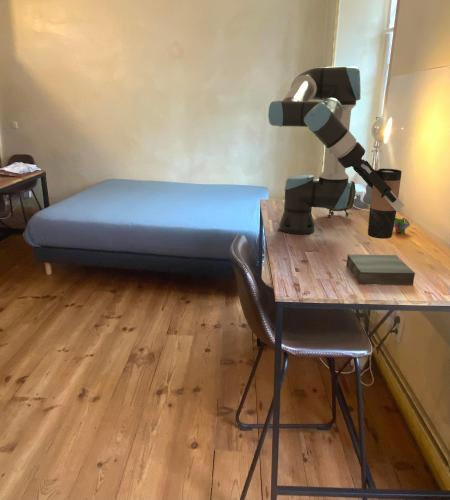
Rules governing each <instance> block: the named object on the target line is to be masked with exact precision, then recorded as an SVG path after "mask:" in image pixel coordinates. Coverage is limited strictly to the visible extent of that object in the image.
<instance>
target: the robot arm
mask: <svg viewBox="0 0 450 500" xmlns="http://www.w3.org/2000/svg"><path fill="white" fill-rule="evenodd" d="M361 99H362V98H361V72H360V69H359V68H358V67H357V66H347V65H346V66H326V67H323V66H321V67H320V66H317V67H314V68H310V69H307V70H305V71H304V72H301V73H300V74H298V75H297V76H296V77H295V78H294V79H293V81H292V82H291V85H290V89H289V91H288V92H287V94H286V95H285V97H284V98H283V99H282V100H273V101H271V102H270V104H269V105H268V115H267V117H268V122H269V125H271V126H272V127H273V126H276V127H292V128H293V127H294V128H295V127H301V128H302V127H305V128H308V130H310V132H312V133H313V134H314V135H315V137H316V138H317V139H318V140H319V141H320V142H321V143H322V144H323V145H324V146H325V147H324V160H323V171H322V172H321V173H320V174H319V177H318V178H315V176H314V174H300V175H293V176H290V177H288V178H287V179H286V180H285V186H284V205H283V213H282V216H281V218H280V221H279V224H278V229H279V230H280V231H281V232H283V233H286V234H291V235H292V234H293V235H306V234H307V235H308V234H311V233H312V234H313V232H315V221H314V218H313V215H312V209H313V208H321V209H326V208H331V209H344V208H345V207H346V205H347V201H348V196H349V192H350V188H351V184H352V182H351V181H352V180H349V178H350V177H349V175H348V174H347V172H346V170H347V169H349V168H351V167H352V169H353V170H354V172H355V173H357V174H358V176H360V177H361V179H362V180H363V181H364V182H365V184H367V185H368V187H370V188H371V189H372V188H373V185H374V186H375V187H376V188H377V189H378V190H379V192H380V193H381V194H382V196H381V197H382V198H383V197H384V198H385V199H386V200H387V202H388V203H389V204H390V205H391V206H392V207H393V208H394V210H395V211H396V213H397V212H398V211H400V210H402V208H403V207H405V204H404V203H403V202H402V201H401V200H400V199H399V197H398V198H397V196H396V195H395V194H394V193H393V192H392V191H391V190H392V189H391V188H390V187H389V186H388V185H387V184H386V183H385V182H384V180H383V179H382V178H381V177H380V176H379V175H378V174H377V173H376V172H375V170H376V169H374V168H373V167H372V165H371V164H370V162H369V161H367V160H365V159H363V156H364V155H366V149H365V147H364V146H362V145H361V143H360V142H358V141H357V139H356V137H355V136H354V135H353V134H352V133H351V131H350V128H351V127H350V126H351V125H350V124H351V115H352V109H353V108H355V107H356V105H357V102H358V101H360V100H361ZM348 180H349V181H348Z"/></svg>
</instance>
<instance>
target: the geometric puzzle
mask: <svg viewBox="0 0 450 500" xmlns="http://www.w3.org/2000/svg"><path fill="white" fill-rule="evenodd" d="M410 226H411V224H410V222H409V220H408V219H407V218H405V217H402V218H399V217H398V218H397V217H395V222H394V231H395V234H398V233H399V234H405V233H406V231H407V230H408V228H409V227H410Z"/></svg>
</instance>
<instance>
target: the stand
mask: <svg viewBox="0 0 450 500" xmlns="http://www.w3.org/2000/svg"><path fill="white" fill-rule="evenodd" d="M346 267H347V268H348V270H349V271H350V272H351V274H352V275H354V276H353V277H354V279H355V278H356V279H355V280H356V282H357V283H358V285H360V284H361V286H362V285H366V284H381V285H382V286H414V281H415V275H416V273H415V271H414V270H413V269H412V268H410V267H409V265H407V264H406V263H405V262H404V261H403V260H402V259H401V258H400V257H399V256H398V255H397V254H358V253H357V254H356V253H355V254H347V258H346ZM381 285H380V286H381Z"/></svg>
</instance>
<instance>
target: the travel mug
mask: <svg viewBox="0 0 450 500" xmlns="http://www.w3.org/2000/svg"><path fill="white" fill-rule="evenodd" d="M374 170H375V172H376V173H377V174H378V175H379V176H380V177H381V178H382V179H383V180H384V182H385V183H386V184H387V185H388V186H389V187H390V188H391V189H392V190H391V191H392V192H393V193H394V194H395V195H396V196H397V198H398V199H399V195H400V187H401V180H402V172H403V171H402V170H401V169H397V168H396V169H395V168H378V169H374ZM381 196H382V194H381V193H380V192H379V190H378V189H377V188H376V187H375V186H374V185H373V188H371V199H370V204H369V205H370V206H369V214H368V227H367V235H368V237H371V238H375V239H381V240H382V239H383V240H384V239H385V240H388V239H391V238H392V237H393V233H394V229H395V227H394V222H395V218H396V215H397V212H396V211H395V210H394V208H393V207H392V206H391V205H390V204H389V203H388V202H387V200H386V199H385V198H384V197H383V198H382V197H381Z"/></svg>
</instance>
